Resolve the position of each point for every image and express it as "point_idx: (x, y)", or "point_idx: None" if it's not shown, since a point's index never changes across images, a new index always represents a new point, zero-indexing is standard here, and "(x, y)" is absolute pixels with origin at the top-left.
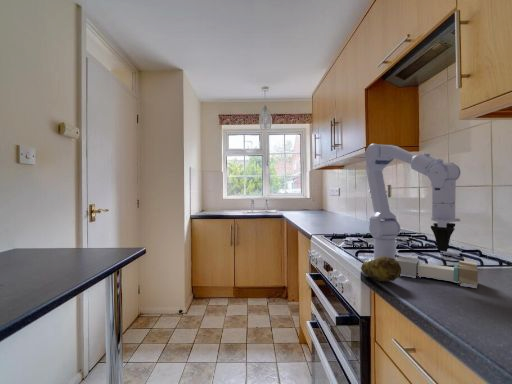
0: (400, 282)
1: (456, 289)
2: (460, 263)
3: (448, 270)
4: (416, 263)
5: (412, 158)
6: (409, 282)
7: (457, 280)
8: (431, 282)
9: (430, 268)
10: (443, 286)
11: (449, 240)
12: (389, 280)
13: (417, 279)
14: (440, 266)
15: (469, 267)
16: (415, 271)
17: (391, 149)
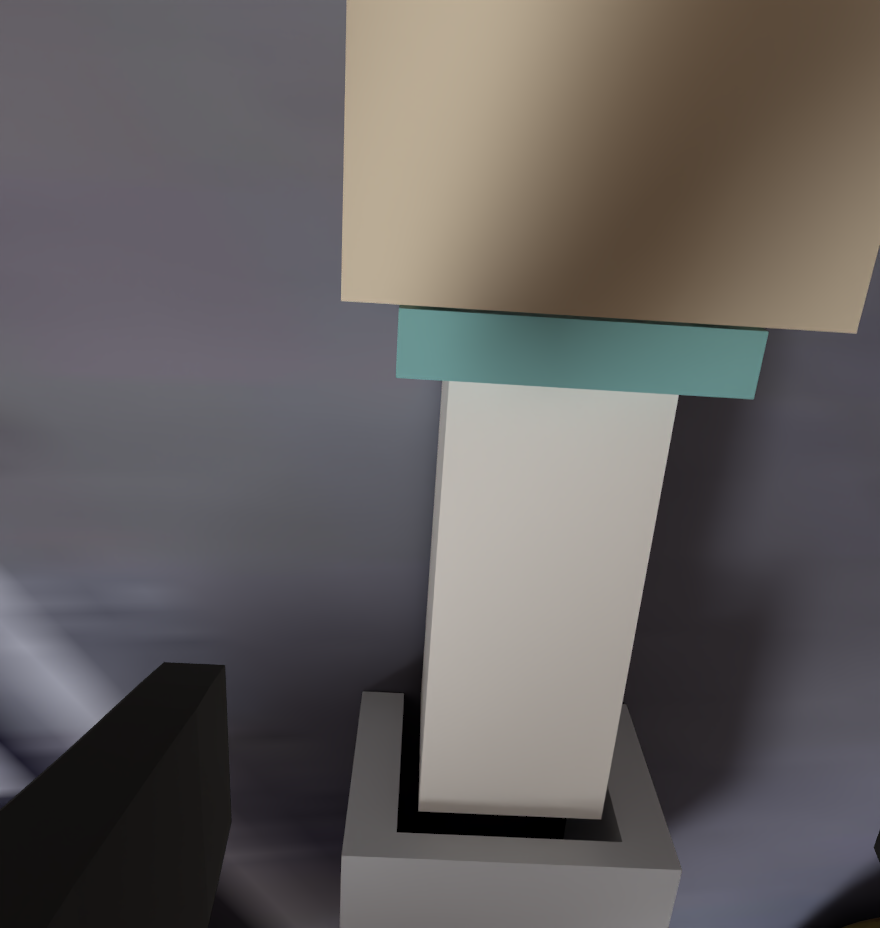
0: (835, 816)
1: (864, 304)
2: (627, 297)
3: (663, 448)
4: (630, 855)
5: None
6: (796, 749)
7: None
8: (685, 559)
9: (624, 665)
10: (797, 440)
11: (137, 781)
12: None
13: (633, 690)
14: (502, 557)
15: None
16: (647, 777)
17: None
